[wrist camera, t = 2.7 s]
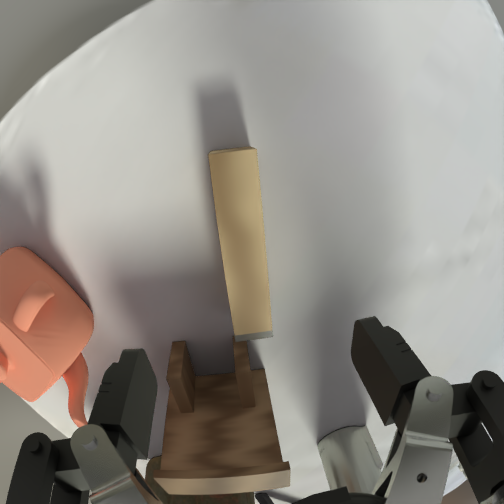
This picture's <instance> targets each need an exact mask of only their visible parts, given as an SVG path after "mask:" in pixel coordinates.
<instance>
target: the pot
mask: <svg viewBox="0 0 504 504" xmlns="http://www.w3.org/2000/svg"><path fill="white" fill-rule="evenodd" d="M93 329H94V318H93V314H92V312H91V310H90V309H89V307H88V306H87V305H86V304H85V302H84V301H83V300H82V299H81V298H80V297H79V296H78V294H77V293H76V292H75V291H74V290H73V289H72V288H71V287H70V285H69V284H68V283H67V282H66V281H65V280H64V279H63V278H62V277H61V276H60V275H59V274H58V273H57V272H56V271H55V270H53V269H52V268H51V267H50V266H49V265H48V264H47V263H45V262H44V261H43V260H42V259H41V258H39V257H38V256H37V255H36V254H35V253H33V252H32V251H31V250H29V249H27V248H25V247H13V248H10V249H8V250H7V251H5V252H4V253H3V254H2V255H1V256H0V383H1V382H2V383H3V384H5V385H6V386H7V387H8V388H10V389H11V390H12V391H13V392H15V393H16V394H18V395H19V396H20V397H22V398H24V399H25V400H27V401H29V402H34V401H35V400H37V399H38V398H39V397H40V396H41V395H43V394H44V393H45V392H46V391H47V390H48V389H49V388H50V387H51V386H52V385H53V384H54V383H55V382H56V381H57V380H58V379H59V378H60V377H61V376H63V378H64V379H65V381H66V383H67V385H68V389H69V401H68V409H69V413H70V416H71V418H72V420H73V422H74V423H75V424H76V425H77V426H78V427H79V428H80V427H81V426H84V425H87V424H88V422H87V421H86V418H85V414H84V400H85V395H86V390H87V385H88V367H87V364H86V361H85V359H84V357H83V355H82V353H81V351H82V350H83V348H84V347H85V345H86V344H87V342H88V341H89V339H90V337H91V335H92V332H93Z"/></svg>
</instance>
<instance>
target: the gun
mask: <svg viewBox="0 0 504 504" xmlns="http://www.w3.org/2000/svg"><path fill="white" fill-rule="evenodd" d="M255 498H256V499H257V501H258V502H259V503H260V504H274V503H273V502H272V500H271V499H270V498H269V496H268V495H267V494H265V493H261V494H257V495H255Z"/></svg>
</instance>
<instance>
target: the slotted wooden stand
mask: <svg viewBox="0 0 504 504" xmlns="http://www.w3.org/2000/svg"><path fill="white" fill-rule="evenodd" d="M233 350H234V362H235V373H225V374H215V375H204V376H195V372H194V369H193V366H192V363H191V359H190V356H189V353H188V349H187V346H186V342H185V341H178V342H173V343H172V348H171V354H170V359H169V365H168V371H167V377H166V379H167V382H168V384H169V387H170V390H169V397H168V405H167V413H166V421H165V429H164V438H163V448H162V458H161V468H160V470H154V473H153V478H154V479H155V480H156V481H157V483H158V484H159V485H160V486H161V487H162V488H163V489H164V490H165V491H166V492H167V493H168V494H179V495H209V494H230V493H243V492H253V491H262V490H270V489H277V488H283V487H289V486H290V465H289V461H287V462H283V460H282V455H281V450H280V445H279V440H278V435H277V430H276V425H275V420H274V415H273V410H272V405H271V400H270V394H269V389H268V384H267V379H266V374H265V369H259V370H250V362H249V355H248V348H247V341H240V342H236V341H235V336H233Z"/></svg>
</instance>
